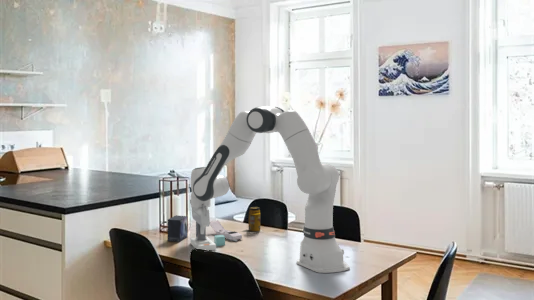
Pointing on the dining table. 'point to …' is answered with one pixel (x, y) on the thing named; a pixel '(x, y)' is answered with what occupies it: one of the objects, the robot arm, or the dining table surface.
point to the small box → (177, 228)
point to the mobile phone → (225, 231)
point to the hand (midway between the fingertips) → (200, 232)
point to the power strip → (203, 244)
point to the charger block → (198, 235)
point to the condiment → (254, 220)
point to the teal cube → (219, 240)
